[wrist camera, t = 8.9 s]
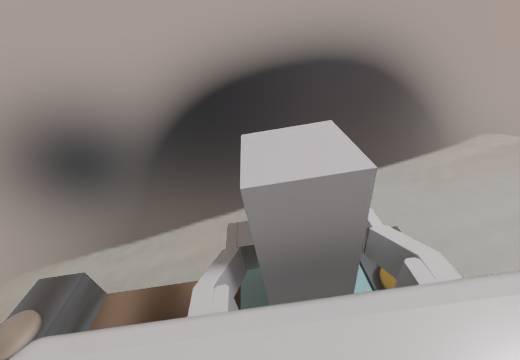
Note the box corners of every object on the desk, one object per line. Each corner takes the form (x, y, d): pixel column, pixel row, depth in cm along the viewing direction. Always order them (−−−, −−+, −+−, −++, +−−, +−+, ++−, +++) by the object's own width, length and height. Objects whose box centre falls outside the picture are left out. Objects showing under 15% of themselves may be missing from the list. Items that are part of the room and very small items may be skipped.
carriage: (250, 399, 12) (149, 256, 5) (248, 270, 19) (203, 126, 11) (395, 381, 12) (521, 202, 5) (341, 256, 19) (357, 100, 11)
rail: (-14, 455, 14) (-110, 444, 11) (75, 307, 21) (33, 275, 18) (466, 396, 13) (515, 365, 10) (385, 263, 20) (398, 221, 17)
